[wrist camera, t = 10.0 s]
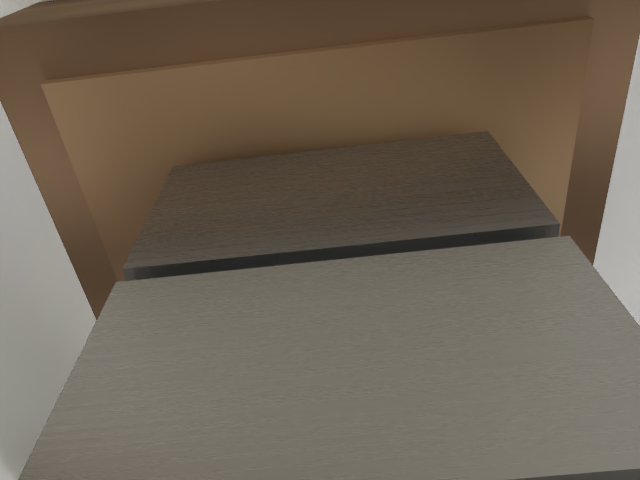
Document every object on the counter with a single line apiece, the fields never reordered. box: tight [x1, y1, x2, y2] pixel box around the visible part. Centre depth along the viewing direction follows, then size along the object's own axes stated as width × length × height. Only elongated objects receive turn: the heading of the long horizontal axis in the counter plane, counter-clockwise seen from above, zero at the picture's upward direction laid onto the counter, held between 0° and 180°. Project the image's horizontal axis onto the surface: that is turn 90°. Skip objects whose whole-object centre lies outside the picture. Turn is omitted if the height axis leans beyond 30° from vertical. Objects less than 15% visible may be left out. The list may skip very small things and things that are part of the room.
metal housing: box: [18, 131, 640, 480], centre depth 9 cm, size 6×7×7 cm
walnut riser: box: [0, 0, 640, 320], centre depth 14 cm, size 12×12×3 cm
